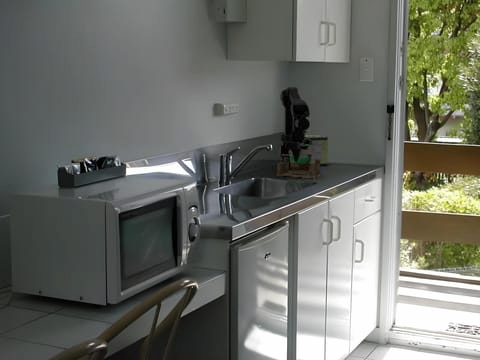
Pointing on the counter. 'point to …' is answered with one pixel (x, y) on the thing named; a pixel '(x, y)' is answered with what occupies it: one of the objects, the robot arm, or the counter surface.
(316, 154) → the protein box
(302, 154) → the food container
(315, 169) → the bracket
